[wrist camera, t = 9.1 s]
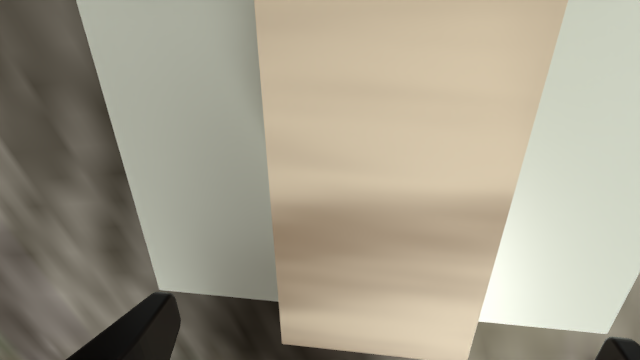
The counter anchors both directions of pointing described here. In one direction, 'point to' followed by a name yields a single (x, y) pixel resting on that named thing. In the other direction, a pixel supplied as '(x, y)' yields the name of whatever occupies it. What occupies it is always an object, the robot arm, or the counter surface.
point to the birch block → (395, 161)
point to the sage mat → (252, 171)
